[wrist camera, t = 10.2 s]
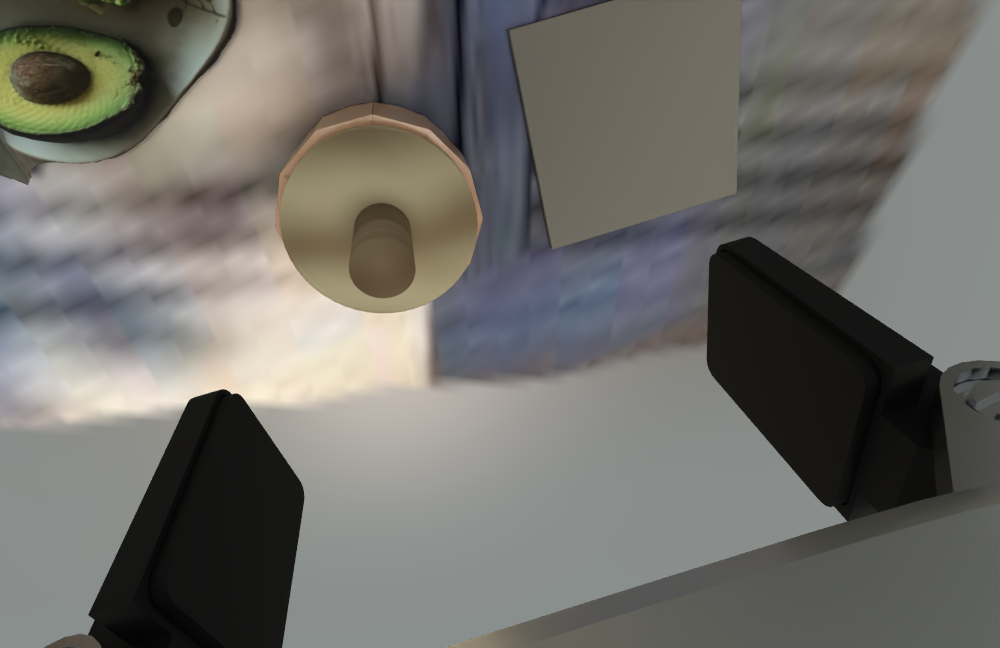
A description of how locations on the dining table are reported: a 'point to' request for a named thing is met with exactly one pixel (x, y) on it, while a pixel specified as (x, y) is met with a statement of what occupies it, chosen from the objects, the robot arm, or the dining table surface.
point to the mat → (630, 110)
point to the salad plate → (97, 73)
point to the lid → (378, 219)
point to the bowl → (376, 116)
